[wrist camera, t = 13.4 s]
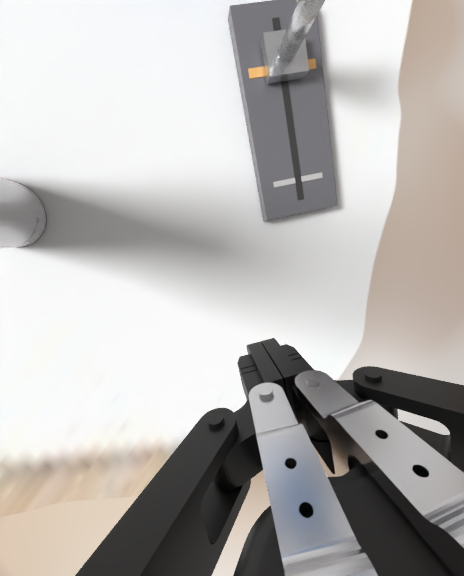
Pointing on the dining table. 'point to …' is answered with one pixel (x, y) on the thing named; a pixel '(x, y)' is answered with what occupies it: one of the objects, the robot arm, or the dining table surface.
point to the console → (283, 116)
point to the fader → (289, 45)
